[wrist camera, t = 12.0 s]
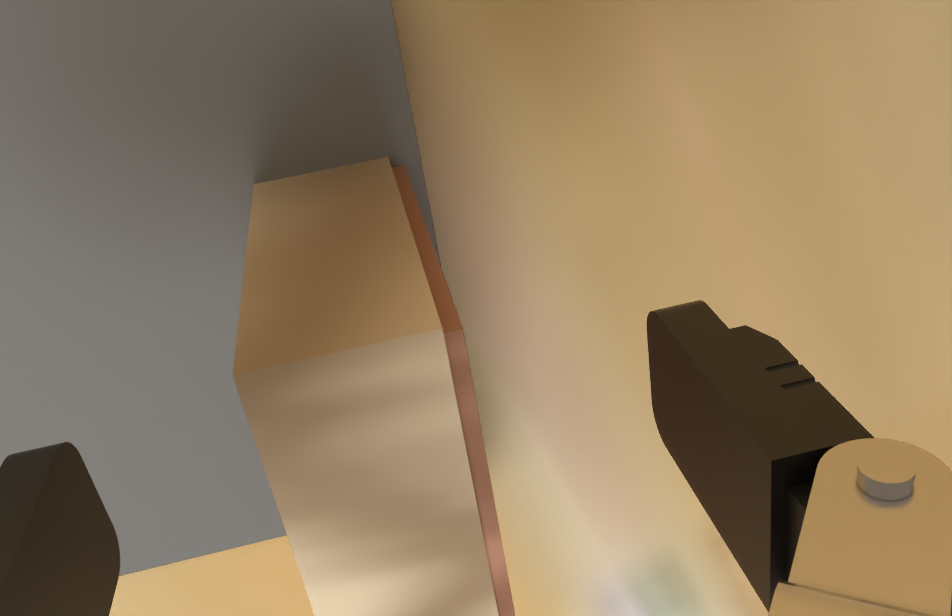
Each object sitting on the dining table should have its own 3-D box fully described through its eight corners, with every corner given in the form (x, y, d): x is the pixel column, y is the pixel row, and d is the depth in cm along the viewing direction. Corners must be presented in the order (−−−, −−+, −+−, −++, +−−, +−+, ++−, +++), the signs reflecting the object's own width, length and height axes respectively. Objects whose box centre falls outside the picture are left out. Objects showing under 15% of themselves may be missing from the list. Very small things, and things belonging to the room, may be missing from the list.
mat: (333, -285, 16) (335, -289, 16) (479, 475, 25) (483, 486, 24) (-553, -143, 15) (-579, -143, 14) (-68, 609, 23) (-75, 623, 23)
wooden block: (462, 323, 13) (541, 755, 17) (401, 154, 20) (469, 496, 24) (232, 375, 12) (378, 800, 17) (253, 184, 19) (352, 524, 24)
